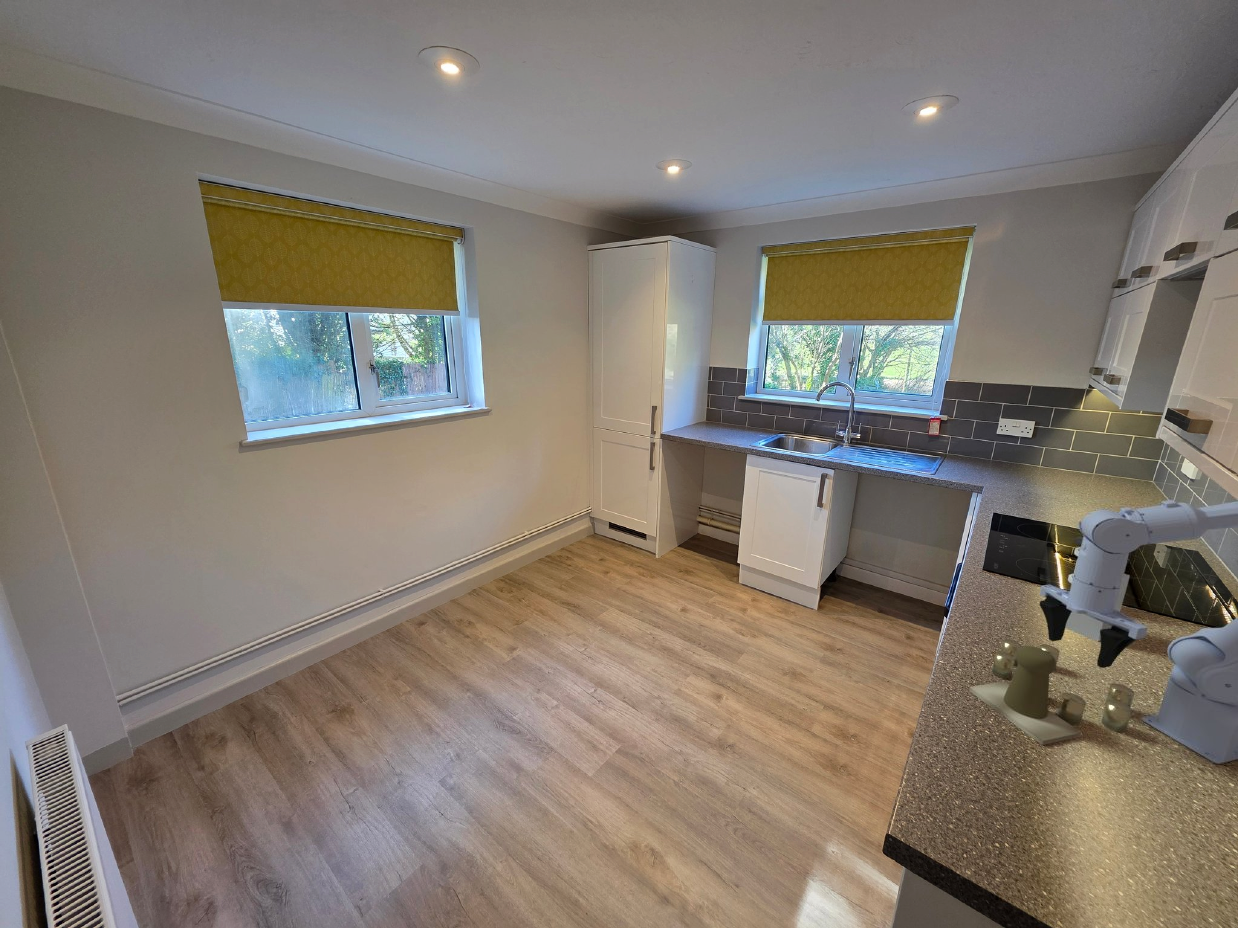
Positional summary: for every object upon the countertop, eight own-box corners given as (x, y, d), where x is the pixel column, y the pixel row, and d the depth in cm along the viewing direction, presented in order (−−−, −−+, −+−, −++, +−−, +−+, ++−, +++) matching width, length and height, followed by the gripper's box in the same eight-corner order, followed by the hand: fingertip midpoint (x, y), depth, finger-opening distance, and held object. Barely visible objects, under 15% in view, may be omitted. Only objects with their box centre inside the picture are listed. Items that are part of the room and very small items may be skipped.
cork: (1055, 721, 82) (1070, 664, 79) (1014, 715, 83) (1027, 659, 81) (1035, 697, 88) (1047, 643, 85) (996, 691, 89) (1008, 638, 86)
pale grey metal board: (1080, 736, 80) (1081, 732, 80) (1042, 744, 78) (1043, 740, 78) (1003, 684, 92) (1004, 680, 92) (969, 690, 90) (969, 686, 90)
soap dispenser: (1065, 615, 116) (1086, 528, 111) (1113, 635, 108) (1138, 542, 103) (1049, 621, 113) (1070, 533, 108) (1098, 641, 106) (1122, 547, 100)
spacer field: (1155, 725, 82) (1161, 705, 81) (1089, 740, 79) (1095, 719, 78) (1028, 651, 102) (1032, 634, 101) (972, 661, 99) (975, 643, 98)
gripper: (1033, 565, 88) (1018, 631, 91) (1131, 605, 74) (1110, 682, 77) (1063, 561, 89) (1048, 627, 92) (1165, 600, 75) (1143, 676, 79)
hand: (1078, 652), depth 85 cm, fingers open, 7 cm apart
